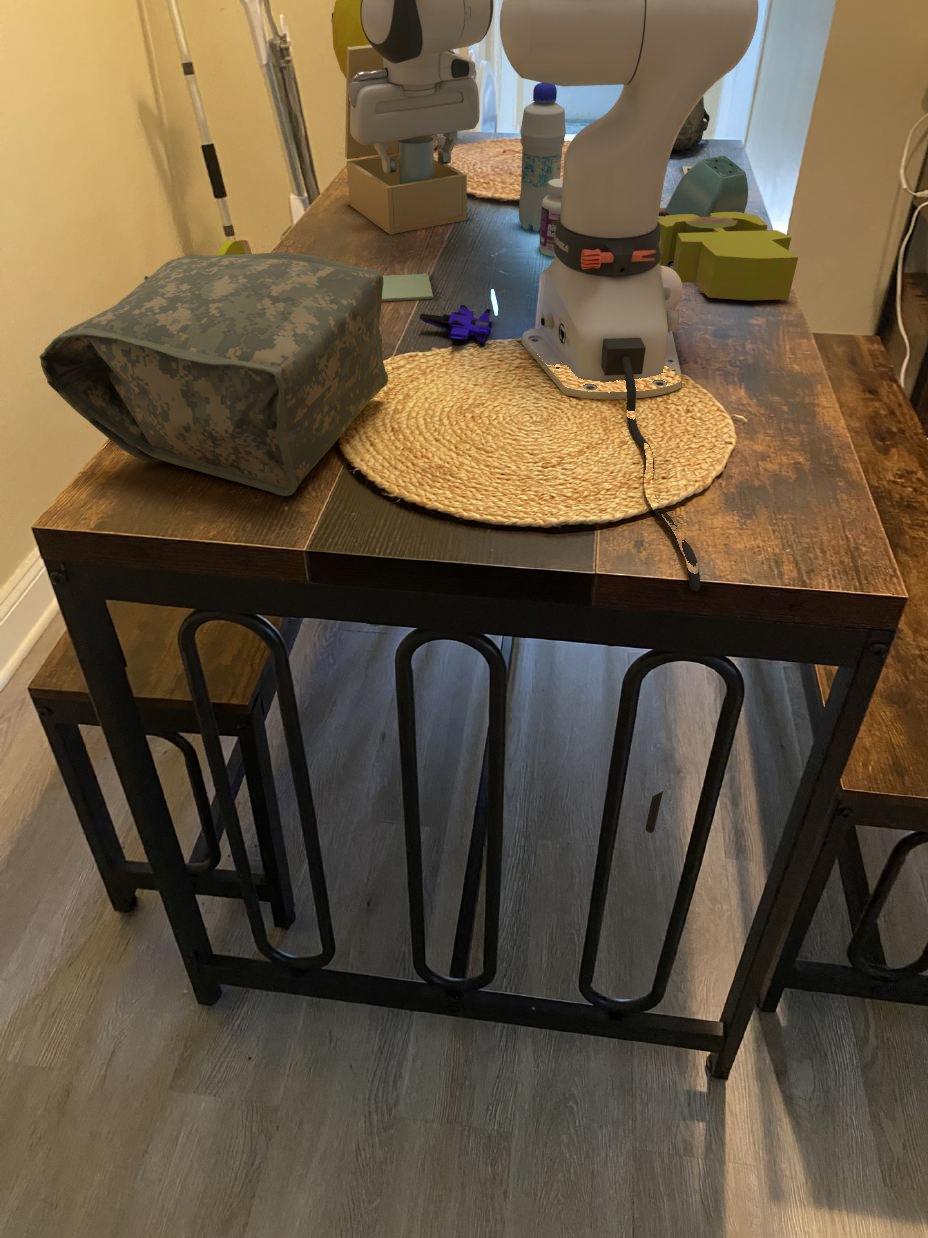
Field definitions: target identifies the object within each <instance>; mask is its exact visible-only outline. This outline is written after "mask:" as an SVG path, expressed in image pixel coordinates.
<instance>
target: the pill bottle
mask: <svg viewBox="0 0 928 1238" xmlns="http://www.w3.org/2000/svg"><path fill="white" fill-rule="evenodd" d="M562 185H563V178H560V179H553V180H550V181H549V182H548V188H547V191H548V194H549V195H547V196H546V197H545V198H544V199H543V201H542V210H541V225H540V228H539V242H538V249H539V251H540V253H542V254H543V255H545V256H548V257H553V258H554V257H555V255H556V254H555V252H554V244H555V240H554V233H555V230H556V222H557V219H558V218H559V217H560V215H561V200H562Z"/></svg>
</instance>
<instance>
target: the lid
mask: <svg viewBox="0 0 928 1238" xmlns="http://www.w3.org/2000/svg"><path fill="white" fill-rule="evenodd" d="M377 69H384V67H383V57H382V56H381V55H380V54H379V53H378V52H377V51H376V50H375V49H374V48H373V47H372V46H371V45H364V46H354V47H347V76H346V78H345V81H346V84H345V90H346V91H345V141H344V144H345V145H344V152H345V153H344V158H345V159H346V160H352V159H357V158H358V159H360V158H365V157H372V156H379V154H378V153H377V151H376V149H375V148H374V144H371V145H362V144H360V143H358V142H357V141H356V140H355V139H354V138H353V137H352V135H351V132H350V108H351V103H350V100H349V92H348V85H349V82H350V80H351V79H352V78H353V77H354V76H356V74H357V73H358V72H361V71H366V72H367V71H372V70H377ZM354 81H358V80H357V79H355V80H354ZM385 151H386V153H392V152H398V140H397V141H390V142H388V150H385Z"/></svg>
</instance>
